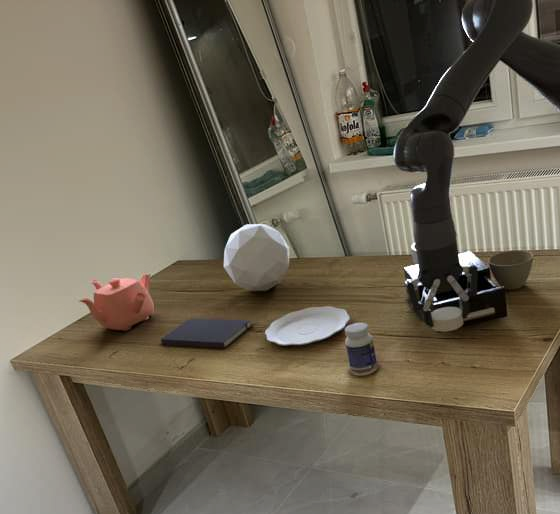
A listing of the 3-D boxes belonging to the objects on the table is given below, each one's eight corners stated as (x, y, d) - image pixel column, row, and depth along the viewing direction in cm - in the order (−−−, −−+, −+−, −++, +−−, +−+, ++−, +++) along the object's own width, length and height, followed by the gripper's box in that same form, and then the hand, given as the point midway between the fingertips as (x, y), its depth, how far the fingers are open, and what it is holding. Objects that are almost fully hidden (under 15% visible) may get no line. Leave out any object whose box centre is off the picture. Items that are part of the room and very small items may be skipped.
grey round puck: (457, 314, 137) (456, 304, 136) (467, 326, 131) (466, 315, 130) (427, 322, 137) (426, 311, 136) (436, 334, 131) (434, 323, 130)
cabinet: (493, 302, 157) (489, 268, 153) (422, 319, 158) (417, 285, 154) (473, 283, 169) (470, 251, 165) (408, 299, 170) (403, 267, 166)
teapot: (93, 342, 194) (76, 298, 188) (105, 318, 211) (89, 276, 205) (154, 327, 193) (139, 282, 187) (161, 304, 210) (147, 262, 204)
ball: (252, 312, 205) (202, 268, 203) (291, 267, 212) (243, 223, 209) (271, 295, 187) (216, 246, 185) (313, 246, 194) (260, 198, 191)
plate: (254, 351, 163) (252, 345, 163) (284, 314, 180) (283, 308, 179) (335, 349, 155) (334, 342, 154) (360, 309, 171) (358, 303, 170)
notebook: (162, 344, 181) (225, 348, 169) (160, 339, 180) (223, 342, 169) (190, 323, 190) (252, 325, 178) (189, 318, 189) (250, 319, 178)
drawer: (516, 325, 143) (514, 295, 140) (444, 342, 143) (440, 313, 140) (487, 297, 158) (484, 269, 155) (422, 312, 159) (418, 286, 156)
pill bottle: (381, 371, 140) (373, 328, 136) (354, 379, 140) (346, 336, 136) (373, 360, 145) (365, 318, 141) (348, 367, 145) (339, 326, 141)
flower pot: (534, 292, 157) (532, 263, 154) (489, 295, 161) (486, 267, 158) (535, 275, 165) (533, 247, 162) (492, 279, 169) (489, 252, 166)
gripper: (466, 226, 129) (476, 305, 137) (393, 245, 130) (406, 323, 137) (480, 236, 123) (489, 319, 130) (402, 256, 123) (416, 338, 131)
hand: (446, 321), depth 134 cm, fingers closed on grey round puck, 6 cm apart
